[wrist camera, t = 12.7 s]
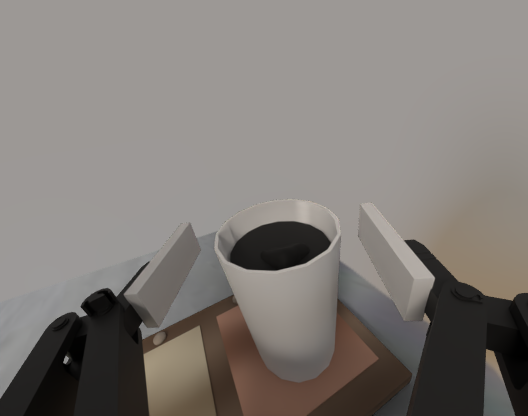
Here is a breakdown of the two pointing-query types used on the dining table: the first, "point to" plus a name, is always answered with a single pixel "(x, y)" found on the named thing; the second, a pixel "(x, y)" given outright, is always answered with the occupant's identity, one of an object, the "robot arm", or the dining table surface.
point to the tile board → (262, 371)
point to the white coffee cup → (285, 282)
